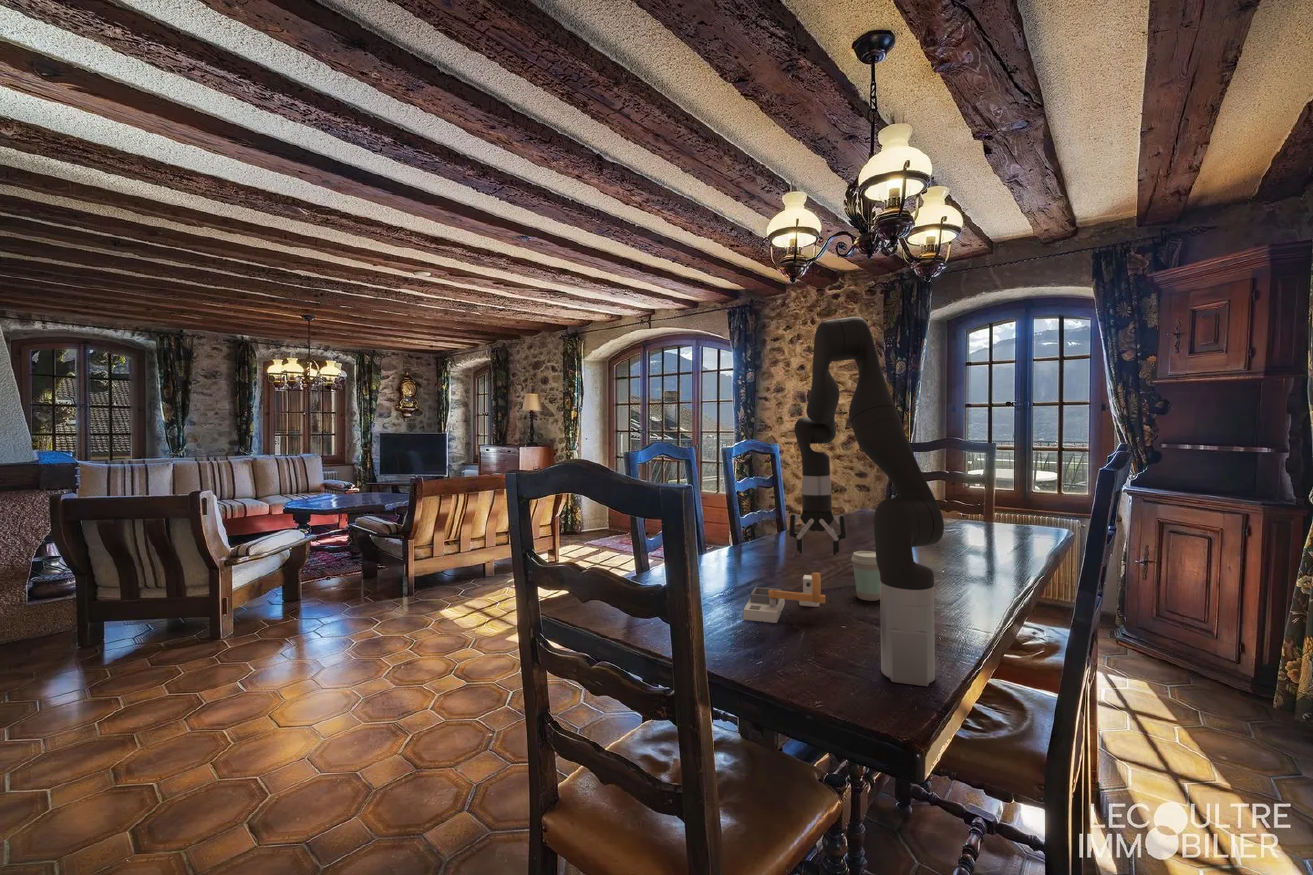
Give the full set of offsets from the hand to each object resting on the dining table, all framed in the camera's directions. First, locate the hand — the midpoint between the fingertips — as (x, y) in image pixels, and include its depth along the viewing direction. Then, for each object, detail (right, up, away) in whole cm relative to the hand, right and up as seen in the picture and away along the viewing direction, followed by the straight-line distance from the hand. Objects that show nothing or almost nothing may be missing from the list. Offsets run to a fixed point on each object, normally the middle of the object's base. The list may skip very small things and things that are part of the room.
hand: (817, 553), depth 145 cm
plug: (-2, -14, +1) cm, 14 cm away
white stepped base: (-15, -14, -5) cm, 21 cm away
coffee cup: (+15, -13, +5) cm, 21 cm away
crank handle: (-9, -9, -11) cm, 17 cm away
